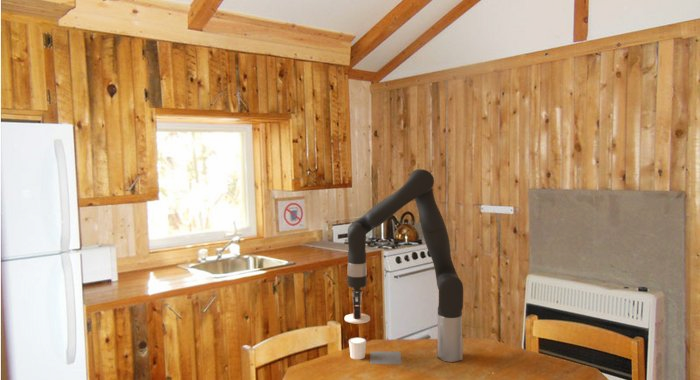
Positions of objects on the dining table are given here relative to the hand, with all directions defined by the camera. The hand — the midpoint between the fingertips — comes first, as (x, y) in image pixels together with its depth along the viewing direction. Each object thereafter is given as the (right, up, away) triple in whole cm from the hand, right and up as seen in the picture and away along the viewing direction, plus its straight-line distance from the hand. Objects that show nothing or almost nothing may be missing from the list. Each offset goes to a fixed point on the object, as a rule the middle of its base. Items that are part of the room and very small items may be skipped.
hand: (357, 317), depth 197 cm
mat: (+11, -16, 0) cm, 20 cm away
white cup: (0, -16, +1) cm, 17 cm away
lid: (0, -1, 0) cm, 1 cm away
